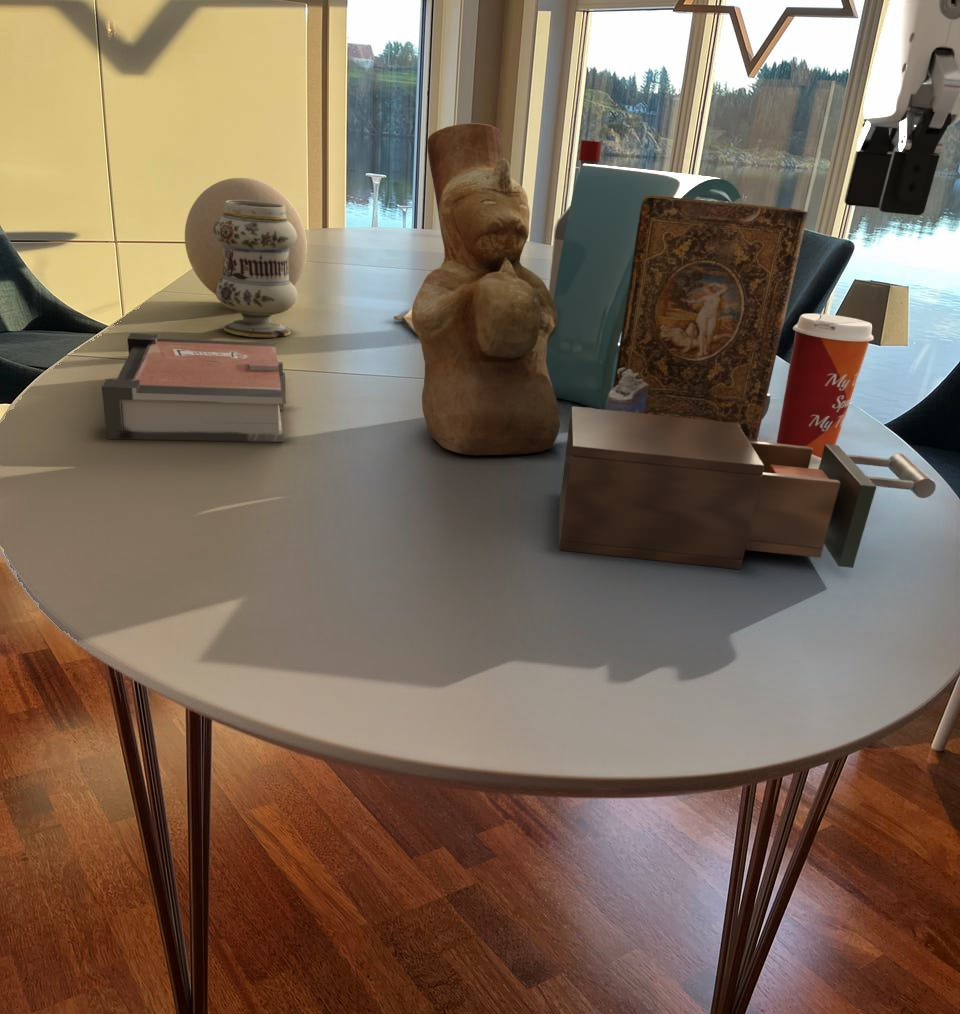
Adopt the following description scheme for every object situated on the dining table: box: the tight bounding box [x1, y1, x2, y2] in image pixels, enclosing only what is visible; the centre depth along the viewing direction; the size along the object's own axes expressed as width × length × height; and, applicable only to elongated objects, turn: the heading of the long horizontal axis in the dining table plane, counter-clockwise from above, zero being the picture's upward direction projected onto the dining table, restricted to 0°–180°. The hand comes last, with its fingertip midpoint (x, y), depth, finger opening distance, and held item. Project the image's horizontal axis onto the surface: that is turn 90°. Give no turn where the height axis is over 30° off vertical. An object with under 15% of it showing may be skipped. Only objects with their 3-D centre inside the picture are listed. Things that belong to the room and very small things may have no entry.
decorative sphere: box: [184, 177, 308, 296], centre depth 159 cm, size 20×20×20 cm
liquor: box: [547, 139, 603, 300], centre depth 168 cm, size 9×9×30 cm
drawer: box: [745, 440, 937, 568], centre depth 79 cm, size 19×11×7 cm, turn 85°
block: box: [768, 464, 829, 479], centre depth 79 cm, size 4×4×4 cm
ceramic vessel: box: [411, 122, 561, 456], centre depth 98 cm, size 16×22×30 cm
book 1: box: [101, 332, 287, 443], centre depth 103 cm, size 26×18×5 cm
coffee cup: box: [776, 313, 875, 458], centre depth 102 cm, size 8×8×15 cm
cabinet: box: [558, 405, 764, 570], centre depth 79 cm, size 15×13×9 cm
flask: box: [606, 367, 649, 413], centre depth 91 cm, size 9×3×11 cm, turn 158°
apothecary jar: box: [214, 200, 298, 339], centre depth 140 cm, size 12×12×18 cm
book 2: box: [613, 195, 809, 442], centre depth 100 cm, size 16×6×25 cm, turn 82°
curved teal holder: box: [546, 164, 772, 420], centre depth 116 cm, size 26×28×28 cm
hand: (880, 209), depth 74 cm, fingers open, 9 cm apart
